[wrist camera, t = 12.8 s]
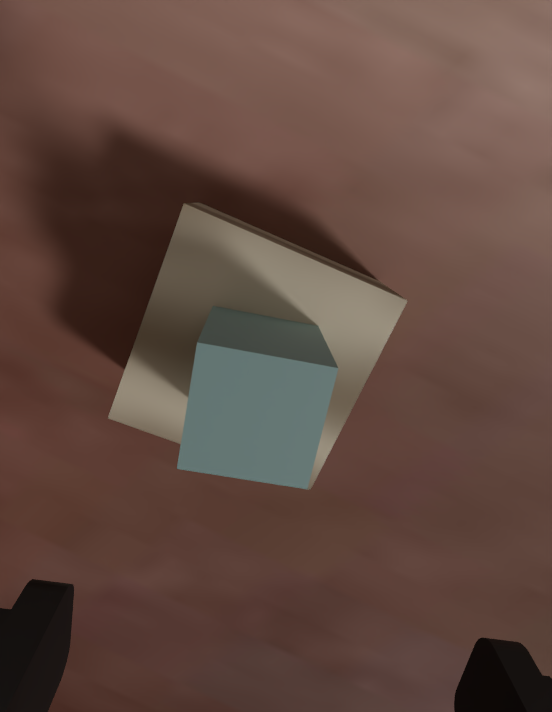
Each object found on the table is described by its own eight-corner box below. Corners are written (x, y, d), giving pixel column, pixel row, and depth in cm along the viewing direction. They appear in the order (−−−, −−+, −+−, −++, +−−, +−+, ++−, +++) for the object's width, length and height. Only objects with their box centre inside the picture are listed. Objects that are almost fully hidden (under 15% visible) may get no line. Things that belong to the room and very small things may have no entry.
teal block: (213, 305, 22) (197, 342, 16) (318, 325, 23) (338, 368, 17) (196, 404, 24) (177, 468, 18) (295, 421, 24) (307, 489, 18)
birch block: (200, 202, 26) (183, 203, 21) (377, 280, 28) (407, 300, 22) (137, 375, 29) (107, 418, 24) (300, 436, 31) (310, 490, 25)
